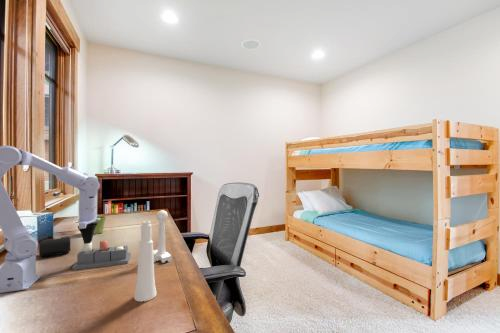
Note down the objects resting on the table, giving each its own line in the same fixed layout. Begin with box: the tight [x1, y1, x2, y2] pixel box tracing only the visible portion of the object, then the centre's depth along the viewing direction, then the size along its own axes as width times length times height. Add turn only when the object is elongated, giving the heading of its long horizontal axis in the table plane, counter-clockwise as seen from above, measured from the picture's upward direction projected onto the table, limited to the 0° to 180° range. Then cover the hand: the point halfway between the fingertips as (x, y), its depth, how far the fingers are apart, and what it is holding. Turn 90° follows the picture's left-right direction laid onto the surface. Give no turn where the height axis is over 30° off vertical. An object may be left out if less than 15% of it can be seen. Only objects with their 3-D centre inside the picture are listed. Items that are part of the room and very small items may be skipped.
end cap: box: [38, 236, 71, 258], centre depth 101 cm, size 10×7×7 cm
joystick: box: [153, 209, 172, 264], centre depth 97 cm, size 11×8×20 cm
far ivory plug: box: [115, 245, 124, 250], centre depth 96 cm, size 3×3×5 cm
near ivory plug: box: [82, 241, 93, 253], centre depth 92 cm, size 3×3×5 cm
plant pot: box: [92, 215, 107, 235], centre depth 134 cm, size 9×9×9 cm
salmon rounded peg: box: [99, 239, 109, 252], centre depth 94 cm, size 3×3×5 cm
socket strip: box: [72, 245, 132, 271], centre depth 94 cm, size 9×18×5 cm, turn 111°
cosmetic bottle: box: [133, 220, 157, 302], centre depth 70 cm, size 6×6×22 cm
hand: (87, 242), depth 92 cm, fingers closed
